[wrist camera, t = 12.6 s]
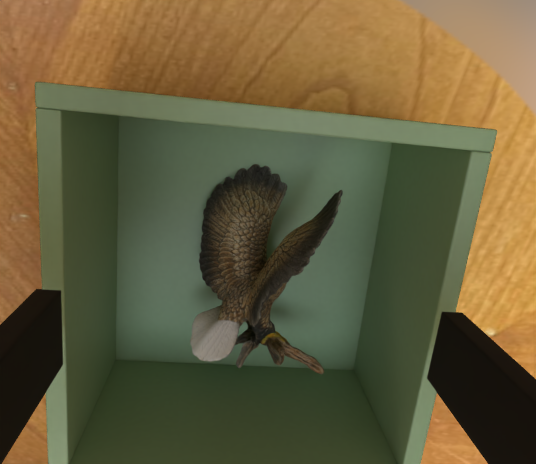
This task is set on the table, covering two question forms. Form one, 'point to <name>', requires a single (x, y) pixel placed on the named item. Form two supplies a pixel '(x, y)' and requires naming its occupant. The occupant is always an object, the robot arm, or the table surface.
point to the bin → (285, 221)
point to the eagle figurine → (251, 266)
